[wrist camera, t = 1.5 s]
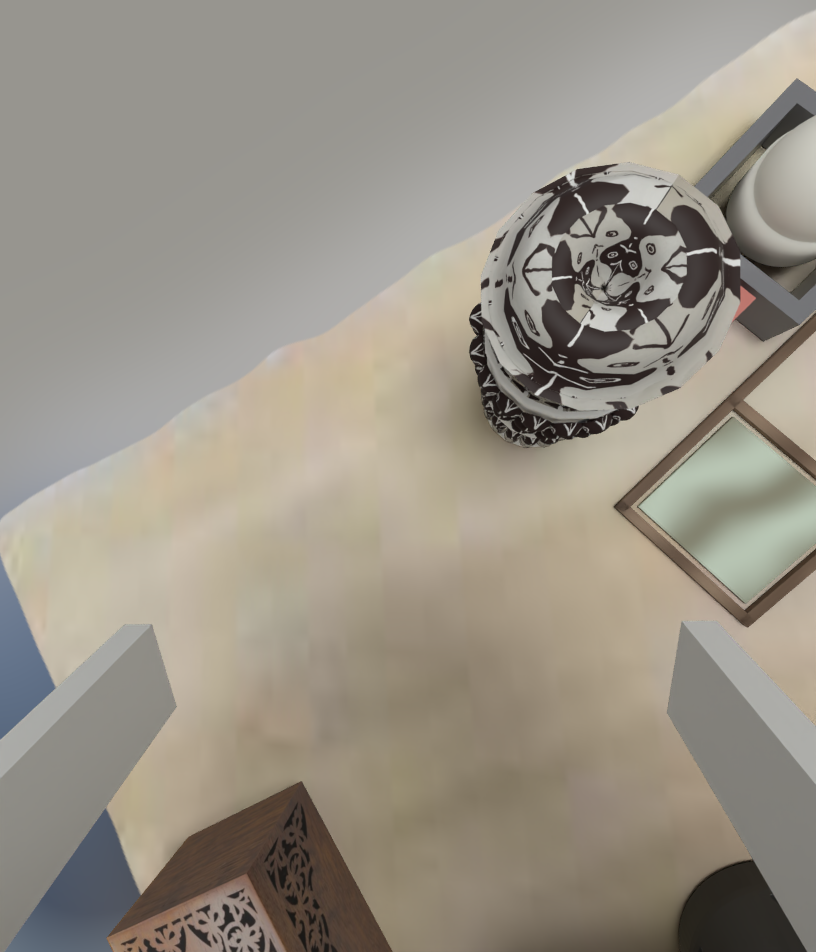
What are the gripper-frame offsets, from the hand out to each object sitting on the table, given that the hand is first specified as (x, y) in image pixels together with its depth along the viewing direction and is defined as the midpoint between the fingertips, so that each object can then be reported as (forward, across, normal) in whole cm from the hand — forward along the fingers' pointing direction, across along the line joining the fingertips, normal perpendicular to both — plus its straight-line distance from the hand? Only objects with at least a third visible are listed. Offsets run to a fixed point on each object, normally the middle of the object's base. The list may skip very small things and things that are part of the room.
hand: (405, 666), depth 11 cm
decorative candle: (+30, -9, -2) cm, 31 cm away
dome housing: (+31, -24, -12) cm, 41 cm away
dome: (+29, -26, -14) cm, 42 cm away
